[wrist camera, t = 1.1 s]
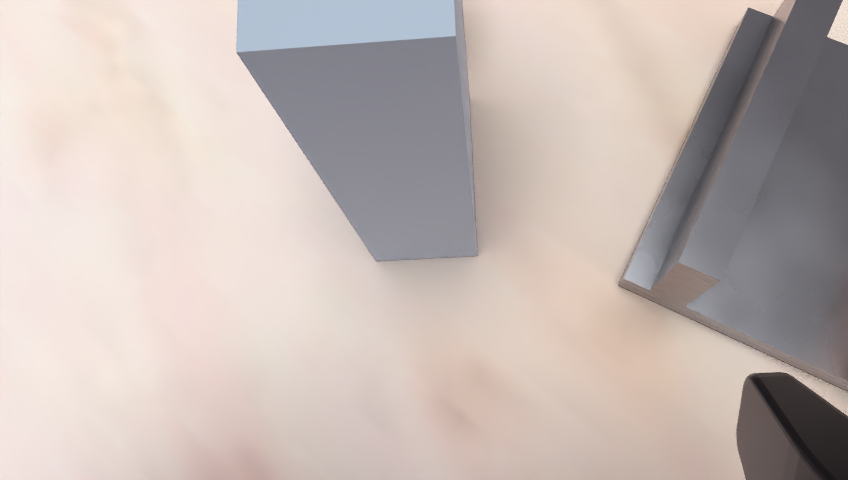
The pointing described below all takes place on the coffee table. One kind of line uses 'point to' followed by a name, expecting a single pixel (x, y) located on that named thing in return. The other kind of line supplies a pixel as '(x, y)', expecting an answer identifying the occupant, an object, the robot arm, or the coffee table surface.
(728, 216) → the rack
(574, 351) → the coffee table surface
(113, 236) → the coffee table surface
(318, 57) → the blue-gray rectangular block
